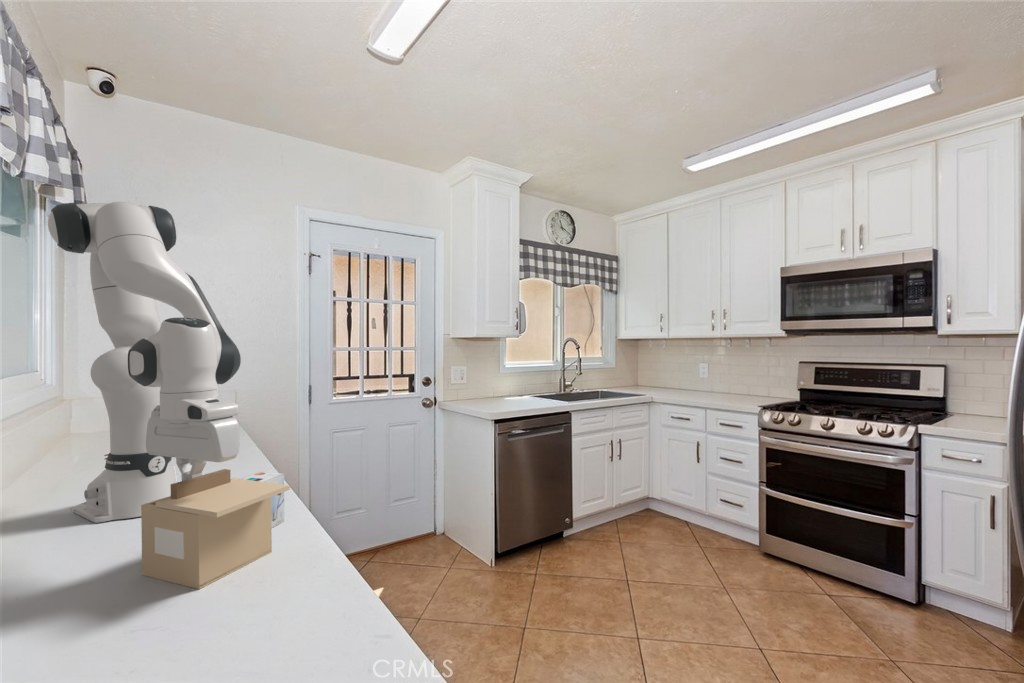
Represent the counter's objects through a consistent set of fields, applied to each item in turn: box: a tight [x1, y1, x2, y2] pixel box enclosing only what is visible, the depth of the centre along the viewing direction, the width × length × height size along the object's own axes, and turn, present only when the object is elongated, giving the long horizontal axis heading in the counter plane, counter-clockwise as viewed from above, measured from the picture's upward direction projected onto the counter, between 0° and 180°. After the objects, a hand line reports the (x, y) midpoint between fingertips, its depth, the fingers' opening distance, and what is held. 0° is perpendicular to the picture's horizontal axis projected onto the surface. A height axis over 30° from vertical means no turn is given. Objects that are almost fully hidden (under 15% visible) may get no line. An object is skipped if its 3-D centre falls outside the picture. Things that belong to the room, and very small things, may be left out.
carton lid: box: [156, 468, 291, 518], centre depth 83 cm, size 14×14×3 cm
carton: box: [140, 496, 273, 590], centre depth 84 cm, size 14×14×12 cm
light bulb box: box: [241, 471, 285, 529], centre depth 99 cm, size 11×7×11 cm, turn 168°
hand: (191, 481), depth 85 cm, fingers closed
